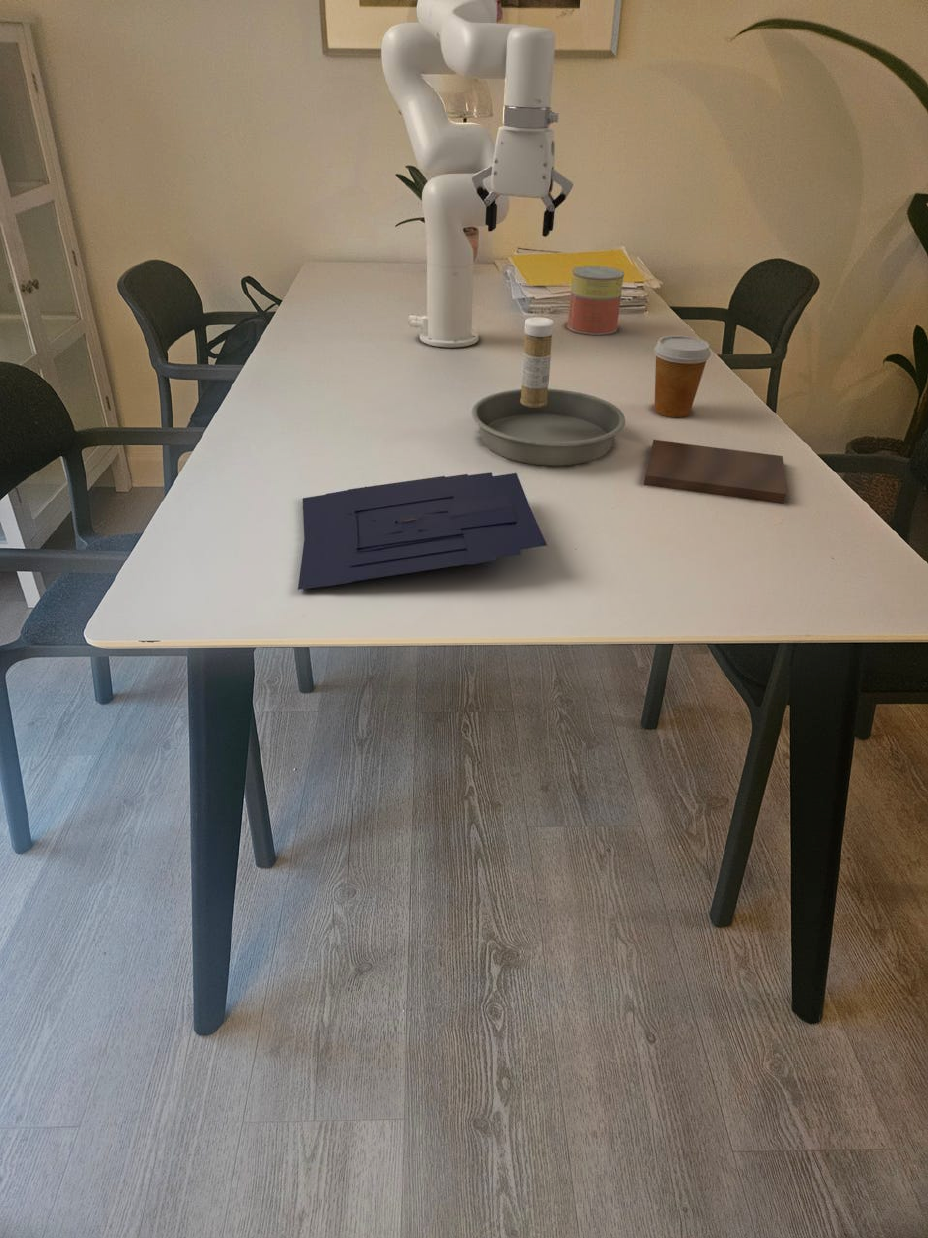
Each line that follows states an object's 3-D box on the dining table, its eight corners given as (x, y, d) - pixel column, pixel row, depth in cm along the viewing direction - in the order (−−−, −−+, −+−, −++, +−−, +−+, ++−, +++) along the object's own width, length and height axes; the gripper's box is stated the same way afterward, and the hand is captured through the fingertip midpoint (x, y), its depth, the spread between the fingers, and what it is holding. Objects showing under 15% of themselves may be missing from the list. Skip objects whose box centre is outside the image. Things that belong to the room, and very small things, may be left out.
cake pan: (633, 424, 146) (637, 398, 144) (605, 482, 127) (609, 453, 125) (496, 403, 153) (497, 378, 150) (449, 455, 133) (450, 428, 131)
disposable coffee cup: (704, 407, 154) (717, 339, 147) (692, 424, 147) (705, 354, 140) (652, 397, 157) (662, 331, 150) (638, 414, 150) (649, 345, 143)
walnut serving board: (643, 484, 127) (645, 474, 126) (651, 448, 138) (653, 439, 137) (783, 503, 123) (786, 494, 122) (780, 464, 134) (782, 455, 133)
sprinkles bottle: (534, 397, 143) (540, 314, 135) (553, 405, 140) (560, 321, 133) (513, 402, 141) (518, 319, 133) (532, 411, 138) (539, 326, 130)
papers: (551, 572, 103) (550, 546, 101) (302, 610, 101) (296, 584, 99) (515, 484, 123) (513, 461, 120) (306, 514, 121) (301, 491, 119)
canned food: (625, 326, 195) (632, 270, 189) (604, 337, 187) (611, 280, 181) (580, 317, 200) (586, 263, 193) (558, 328, 192) (563, 272, 185)
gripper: (582, 120, 140) (571, 232, 150) (480, 113, 144) (476, 224, 154) (574, 124, 134) (563, 241, 144) (468, 117, 138) (465, 232, 148)
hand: (518, 232), depth 149 cm, fingers open, 9 cm apart
